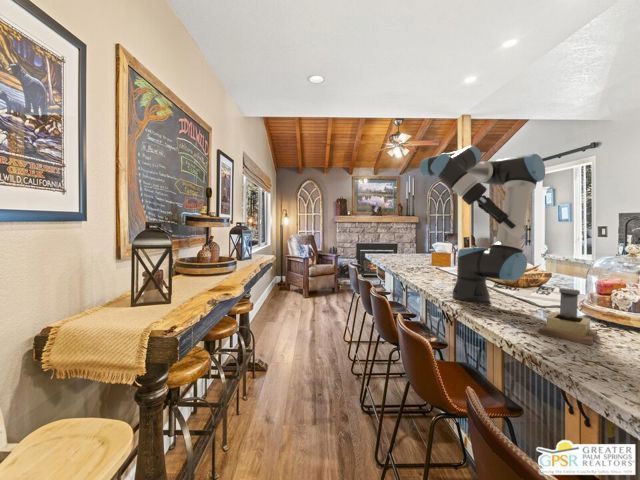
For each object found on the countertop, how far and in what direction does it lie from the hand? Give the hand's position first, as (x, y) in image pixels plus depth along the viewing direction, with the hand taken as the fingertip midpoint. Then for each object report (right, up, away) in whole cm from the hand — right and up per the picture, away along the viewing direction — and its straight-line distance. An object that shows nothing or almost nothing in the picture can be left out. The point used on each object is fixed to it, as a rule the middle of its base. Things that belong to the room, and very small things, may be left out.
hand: (519, 235), depth 100 cm
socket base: (+11, -30, -6) cm, 33 cm away
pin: (+11, -29, -6) cm, 31 cm away
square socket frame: (+11, -29, -6) cm, 31 cm away
